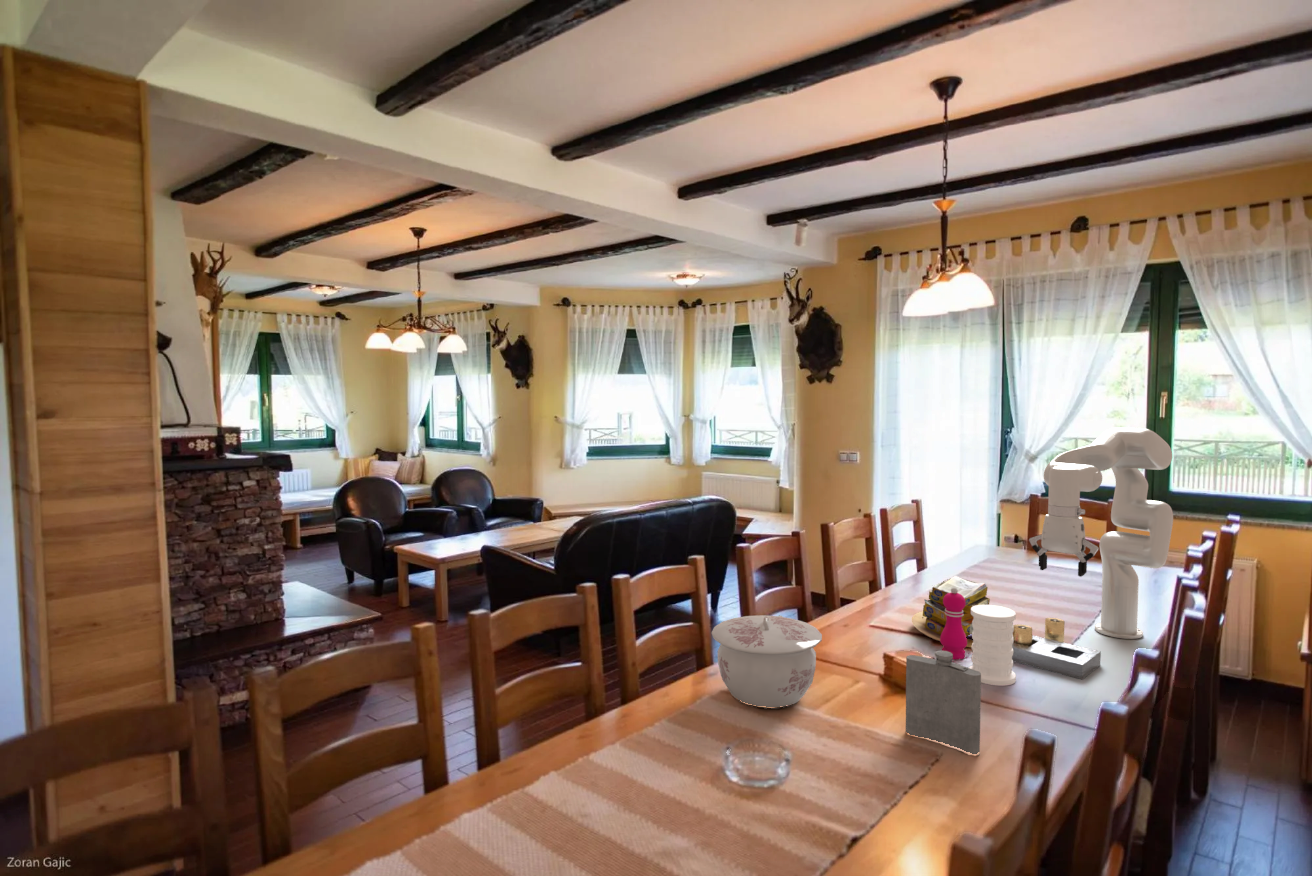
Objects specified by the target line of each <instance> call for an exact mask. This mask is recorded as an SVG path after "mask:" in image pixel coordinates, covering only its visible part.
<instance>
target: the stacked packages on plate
mask: <svg viewBox="0 0 1312 876" xmlns="http://www.w3.org/2000/svg"><path fill="white" fill-rule="evenodd" d="M952 588H957V590H958V592H957V593H959V594H961V595H962V596H963V597H964V598H965V602H966V604H965V607H964V608H963V609H962V610H963V611H964V612H963V614H964V615H963V616H962V619H961V623H962V628H963V631H964V633H965V635H966V637H967V636H968V635H970V634H972V632H973V627H972V621H973V619H974V616H972V615H971V607H973V606H976V605H990V601H991V599H990V597H987V595H988V586H987V583H986V582H978V583H977V582H975V581H972V580H968V579H965V578H962V577H959V576H957V575H953V576H952V577H949V579H948V578H947V579H945V580H943V581H941V582H940V583H937V584H936V585H932V588H931V590H929V591H928V599H924V604H923V608H922V611H919V612H916V613H915V614H913V616H912V617H911V623H912V625H913V626H914V628H916V630H918V632H920V633H922V634H924V635H925V636H927V637H929V638H932V639H933V640H936V641H939V642H940V637H941V633H942V631H943V629H944V627H945V625H946V620H947V618H946V614H945V608H946V607H945V606H944V604H943V598H944V596H945V595H946V594H948V593H951V589H952ZM972 643H973V641H972V640H969V639H967V646H966V647H965V648H972Z"/></svg>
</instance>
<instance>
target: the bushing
mask: <svg viewBox="0 0 1312 876" xmlns="http://www.w3.org/2000/svg"><path fill="white" fill-rule="evenodd" d="M1044 638H1046V639H1051V640H1055V641H1059V642H1063V643H1065V620H1063V619H1061V618H1057V617H1047V618H1045V619H1044Z"/></svg>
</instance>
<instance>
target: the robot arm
mask: <svg viewBox="0 0 1312 876" xmlns="http://www.w3.org/2000/svg"><path fill="white" fill-rule="evenodd" d="M1172 461H1173V452H1172V449H1171V447H1170V445H1169V443H1168V442H1166V441H1165V440H1164V439H1163V438H1162V437H1161V436H1160V435H1159V434H1157V432H1155V431H1153V430H1151V429H1149V428H1144V427H1143V428H1141V427H1138V428H1137V427H1136V428H1135V427H1111V428H1109V429H1106V430H1105V431H1103V432H1102V433H1101V434H1100V435H1099V436H1098V437H1097V438H1095V439H1094V440H1093V441H1092V442H1091V443H1090V444H1088V445H1085V446H1081V447H1077V448H1075V449H1071V450H1068V451H1065V452H1061V453H1059V454H1057V455H1056V456H1055V457H1054V458H1053V459H1052V460H1051V461H1050V462H1049V463H1048V464H1046V466H1045V469H1044V470H1043V481H1044V483H1045V484H1046V485H1047V486H1048V498H1047V499H1048V502H1047V503H1048V504H1047V506H1048V507H1047V514H1045V516H1044V520H1043V526H1042V532H1041V534H1039V535H1035V536H1033V537H1030V538H1029V539H1028V541H1029V543H1030V545H1031V547H1032V549H1033V550H1034V552H1035V553H1036V554H1037V556H1038V567H1039V570H1040V571H1044V570H1046V569H1048V555H1047V554H1046V553H1047V552H1048V551H1049V552H1054V553H1062V554H1070V555H1075V556H1076V557H1077V558H1078V560H1079V561H1078V563H1077V564H1078V565H1077V576H1078V577H1080V578H1082V577H1083V576H1085V574H1087V571H1088V561H1089V560H1091V558H1094V557H1095V555H1096V554H1097V552H1098V551H1099V552H1100V557H1101V569H1102V571H1101V572H1102V574H1101V575H1102V576H1101V606H1100V607H1101V608H1100V622H1099V623H1096V624H1094V630H1095V631H1096V632H1098V633H1099V634H1101V635H1104V636H1108V637H1111V638H1117V639H1123V640H1124V639H1125V640H1135V639H1140V638H1142V637H1144V636H1143V635H1144V631H1143V630H1142V629H1140V628H1138V615H1139V613H1138V612H1139V609H1138V607H1139V585H1140V582H1139V576H1138V573H1137V572H1136V570H1135V569H1134V567H1133V566H1137V567H1143V568H1148V569H1161V568H1163V567H1165V564H1166V562H1167V560H1168V556H1169V551H1170V550H1169V549H1170V545H1171V543H1170V542H1171V539H1172V538H1171V537H1172V536H1171V535H1172V532H1173V531H1172V530H1173V524H1174V512H1173V509H1172V507H1171V506H1170V504H1168V503H1166V502H1165V501H1161V500H1160V501H1159V500H1152V499H1147V498H1148V490H1149V483H1148V480H1147V479H1146V477H1145V475H1144V474H1143V473H1142V472H1141V470H1154V471H1155V470H1157V471H1159V470H1160V471H1161V470H1162V471H1163V470H1165V469H1167V468H1168V467H1169V466H1170V465H1171V464H1172V463H1171V462H1172ZM1110 469H1111V470H1112V473H1113V475H1114V479H1115V485H1114V494H1113V499H1112V503H1111V504H1112V505H1111V512H1110V519H1111V522H1112V524H1113V525H1114V526H1116V527H1119V528H1123V529H1129V530H1136V531H1143V532H1148V533H1149V535H1145V534H1139V533H1134V532H1133V533H1131V532H1125V531H1116V530H1115V531H1114V530H1113V531H1108V532H1104V534H1103V535H1101V537H1100V539H1099V547H1098V545H1095V544H1094V543H1092V542H1091V541H1089V540H1087V539H1086V530H1085V523H1084V519H1083V516H1081V515H1085V514H1086V509H1082V508H1081V505H1080V504H1081V503H1080V501H1081V499H1080V497H1081V492H1083V493H1084V492H1086V493H1088V492H1089V493H1090V492H1094V491H1095V490H1097V489H1099V488H1100V486H1101V485H1102V481H1103V474H1102V472H1101V471H1107V470H1110ZM1139 469H1141V470H1139ZM1039 540H1040V541H1041V542H1040V543H1041V546H1040V545H1039V544H1038V543H1037V542H1038V541H1039ZM1086 548H1087V549H1089V550H1090V551H1089V552H1088V553H1087V554H1086V553H1085V551H1086Z"/></svg>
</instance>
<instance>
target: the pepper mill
mask: <svg viewBox="0 0 1312 876" xmlns="http://www.w3.org/2000/svg"><path fill="white" fill-rule="evenodd" d="M957 592H958V590H957V588H952V589H951V593H948V594H946V595H945V596H944V598H943V604H944V606H945V607H946V608H945V614H946V618H947V620H946V625H945V627H944V629H943V631H942V633H941V637H940V641H939V642H940V644H941V645H942V647H941V651H948V652H951V653H952V654H953V659H952V660H956V661H957V660H964V659H965V658H966V650H965V648H967V647H966V646H967V638H966V635H965V633H964V631H963V628H962V623H961V619H962V616H963V615H964V614H963V612H964V611H963V610H962V609H963V608H964V607H965V604H966V602H965V598H964V597H963V596H962V595H961V594H959V593H957Z"/></svg>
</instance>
